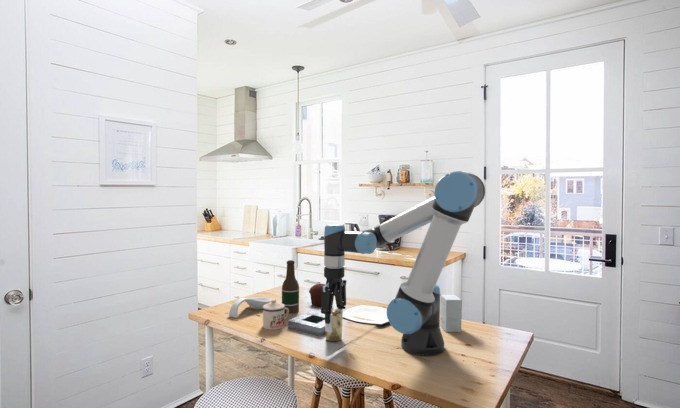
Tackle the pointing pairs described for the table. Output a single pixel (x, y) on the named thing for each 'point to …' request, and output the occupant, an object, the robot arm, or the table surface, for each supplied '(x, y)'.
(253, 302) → the spoon rest
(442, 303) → the small box
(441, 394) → the table surface
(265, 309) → the teacup with lid
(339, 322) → the yellow can
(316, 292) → the muffin
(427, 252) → the robot arm
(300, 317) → the frame
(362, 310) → the plate
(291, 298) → the beer bottle
